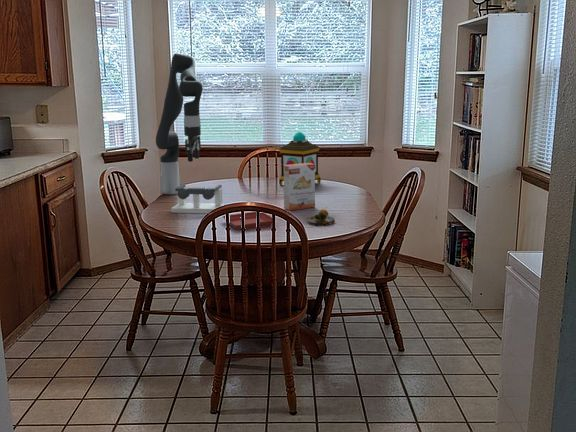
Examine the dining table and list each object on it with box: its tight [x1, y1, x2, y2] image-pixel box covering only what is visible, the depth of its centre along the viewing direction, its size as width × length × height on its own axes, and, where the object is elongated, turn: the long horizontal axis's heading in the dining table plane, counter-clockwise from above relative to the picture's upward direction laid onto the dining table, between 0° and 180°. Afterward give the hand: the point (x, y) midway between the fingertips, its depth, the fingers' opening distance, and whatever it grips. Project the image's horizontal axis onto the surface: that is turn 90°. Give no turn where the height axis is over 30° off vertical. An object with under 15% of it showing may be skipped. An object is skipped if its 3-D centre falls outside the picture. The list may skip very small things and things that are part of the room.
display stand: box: [170, 187, 227, 214], centre depth 278 cm, size 23×12×10 cm, turn 80°
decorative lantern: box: [278, 131, 321, 186], centre depth 334 cm, size 20×20×30 cm
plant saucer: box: [222, 211, 273, 231], centre depth 251 cm, size 18×18×3 cm
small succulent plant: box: [306, 206, 336, 227], centre depth 251 cm, size 12×12×8 cm
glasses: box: [175, 183, 222, 200], centre depth 278 cm, size 19×11×5 cm, turn 80°
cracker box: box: [283, 163, 316, 211], centre depth 276 cm, size 14×6×21 cm, turn 117°
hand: (193, 160), depth 277 cm, fingers open, 8 cm apart
